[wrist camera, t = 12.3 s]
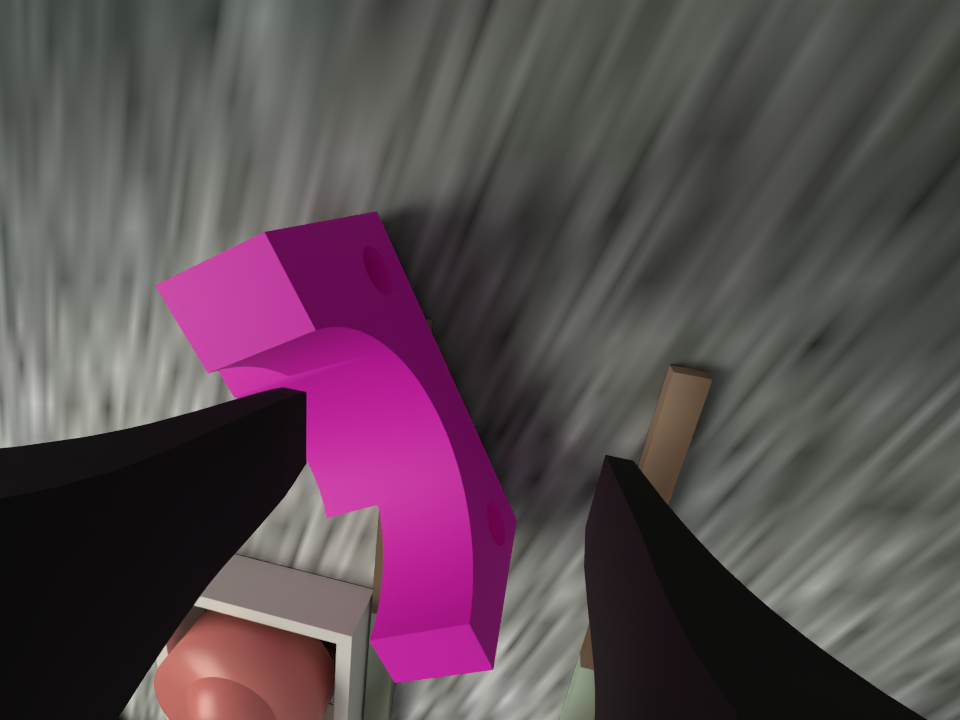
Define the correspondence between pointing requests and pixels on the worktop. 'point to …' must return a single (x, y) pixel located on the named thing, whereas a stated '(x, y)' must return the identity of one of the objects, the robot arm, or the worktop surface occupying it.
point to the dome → (244, 673)
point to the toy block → (367, 423)
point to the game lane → (660, 468)
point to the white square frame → (296, 618)
